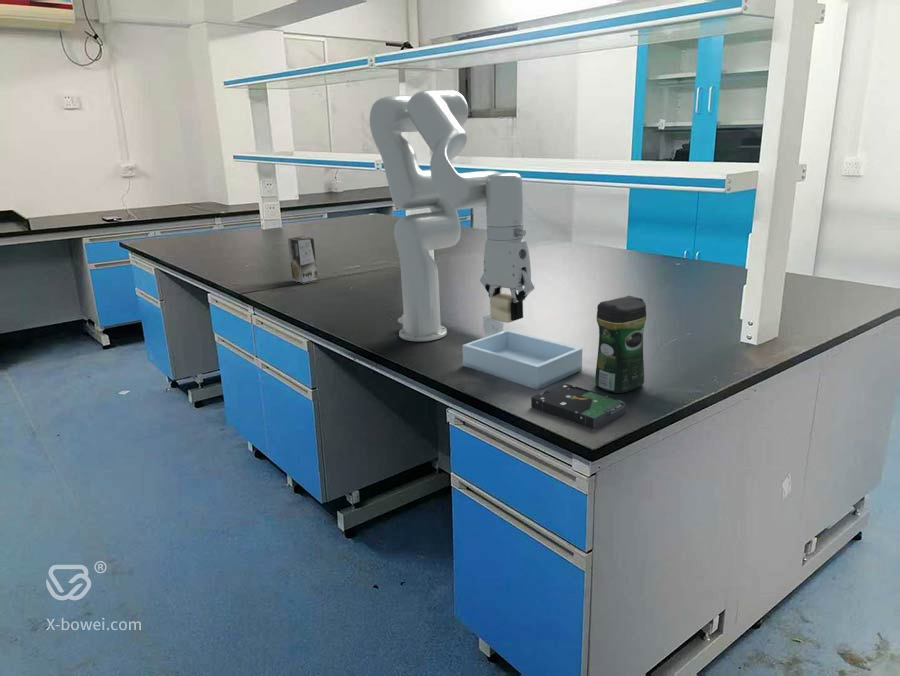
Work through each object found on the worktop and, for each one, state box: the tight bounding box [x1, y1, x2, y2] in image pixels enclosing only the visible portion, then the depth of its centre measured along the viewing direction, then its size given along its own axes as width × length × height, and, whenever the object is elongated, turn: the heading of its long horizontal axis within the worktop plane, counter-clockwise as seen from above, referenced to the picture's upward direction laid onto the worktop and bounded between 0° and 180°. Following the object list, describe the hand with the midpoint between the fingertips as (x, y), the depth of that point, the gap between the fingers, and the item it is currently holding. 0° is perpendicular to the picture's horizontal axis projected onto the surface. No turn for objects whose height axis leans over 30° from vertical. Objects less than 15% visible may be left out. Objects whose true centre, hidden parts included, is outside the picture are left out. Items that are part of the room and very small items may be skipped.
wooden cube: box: [489, 291, 524, 324], centre depth 142 cm, size 5×5×5 cm
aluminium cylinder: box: [482, 314, 505, 338], centre depth 162 cm, size 5×5×7 cm
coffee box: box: [287, 235, 319, 282], centre depth 240 cm, size 9×6×16 cm
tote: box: [461, 329, 583, 391], centre depth 146 cm, size 22×15×5 cm
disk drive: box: [530, 382, 627, 430], centre depth 124 cm, size 10×3×15 cm
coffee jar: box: [594, 295, 647, 394], centre depth 132 cm, size 10×8×19 cm
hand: (507, 316), depth 142 cm, fingers closed on wooden cube, 4 cm apart
